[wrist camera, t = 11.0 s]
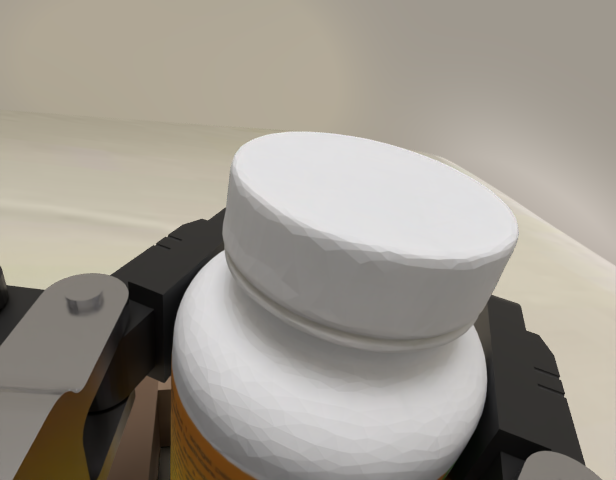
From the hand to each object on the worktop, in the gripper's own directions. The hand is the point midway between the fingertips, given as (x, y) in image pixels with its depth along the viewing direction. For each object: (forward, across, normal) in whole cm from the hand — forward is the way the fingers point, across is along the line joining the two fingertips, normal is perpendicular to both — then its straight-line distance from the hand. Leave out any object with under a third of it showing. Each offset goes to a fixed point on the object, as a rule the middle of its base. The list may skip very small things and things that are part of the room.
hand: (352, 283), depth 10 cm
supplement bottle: (-3, 0, +6) cm, 7 cm away
